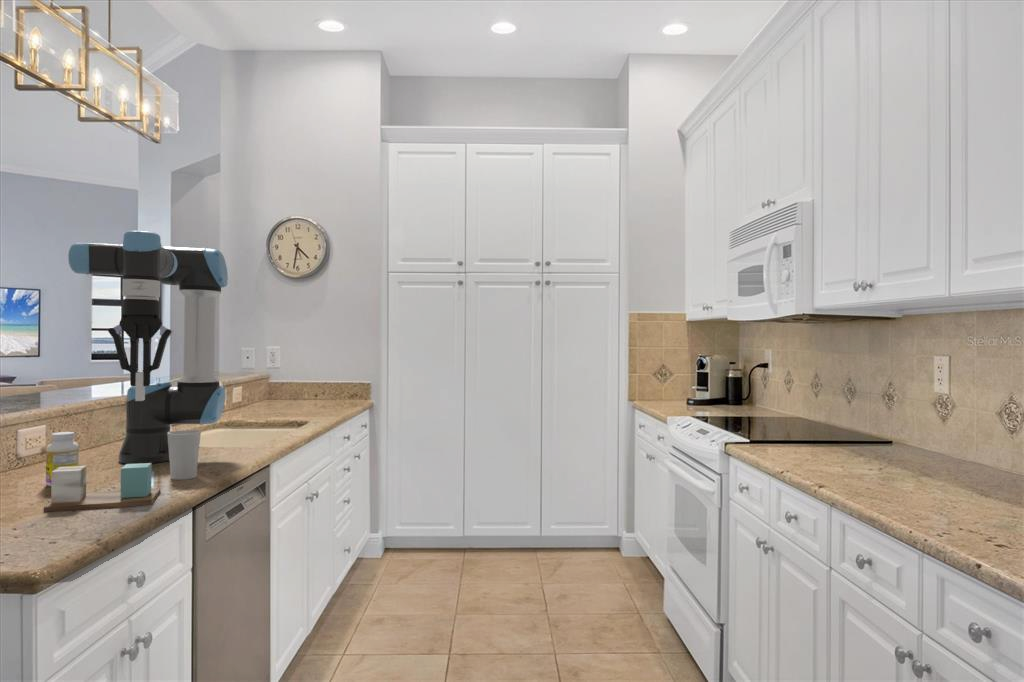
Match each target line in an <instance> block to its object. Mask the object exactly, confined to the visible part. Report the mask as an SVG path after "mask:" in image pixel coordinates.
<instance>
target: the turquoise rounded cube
mask: <svg viewBox="0 0 1024 682" xmlns="http://www.w3.org/2000/svg"><path fill="white" fill-rule="evenodd" d="M152 464H153V463H140V464H127V463H125V464H124V465H123V466H122V467H121V468H120V491H121V497H120V498H129V497H145V496H148V494H149V493H150V492H151V489H152V471H153V470H152V469H153V467H152Z"/></svg>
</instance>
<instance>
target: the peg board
mask: <svg viewBox="0 0 1024 682" xmlns="http://www.w3.org/2000/svg"><path fill="white" fill-rule="evenodd" d="M87 467H88V465H79V466H72V467H59V468H57V469H55V470H54V471H52V487H51V486H50V487H51V488H50V489H51V492H50V493H51V495H50V496H51V500H50V502H49V503H47V504H46V505H45V506H44V507H43V513H49V512H50V513H51V512H63V511H78V510H93V509H109V508H124V507H137V506H138V505H141V506H151V505H153V503H154V502H155V500H156V499H157V497H158V496H159V495H160V493H161V488H160V487H157V488H155V487H154V488H151V492H150V493H149V494H148V496H145V497H129V498H120V497H121V490H109V491H107V490H105V491H92V492H91V491H89V492H87ZM138 507H139V506H138Z"/></svg>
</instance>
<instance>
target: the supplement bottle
mask: <svg viewBox="0 0 1024 682" xmlns="http://www.w3.org/2000/svg"><path fill="white" fill-rule="evenodd" d="M50 438H51V440H52V442H51V443H49V444H48V445H47V446H46V448H45V449H46V460H45V465H46V466H45V468H46V469H45V483H46V485H47V486H48V487H52V471H54V470H55V469H57V468H59V467H72V466H80V465H79V463H80V462H79V459H80V458H79V457H80V455H79V454H80V453H79V452H80V451H79V450H80V446H79V443H77V442H76V441H74V439H75V432H74V431H60V432H59V431H58V432H52V433H51V436H50Z"/></svg>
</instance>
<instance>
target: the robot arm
mask: <svg viewBox="0 0 1024 682" xmlns="http://www.w3.org/2000/svg"><path fill="white" fill-rule="evenodd" d="M67 257H68V259H67V260H68V264H69V268H70V269H71V271H73V272H74V274H75V273H76V274H81V275H97V276H98V275H99V276H121V277H122V293H121V294H122V296H123V297H125V298H124V299H123V300H122V301H121V302H122V305H121V309H122V310H121V312H122V313H121V314H122V315H121V318H120V321H119V323H118V324H117V325H116V326H114V327H110V328H109V329H108V333H109V334H110V337H111V338H112V339H113V342H114V347H115V349H116V354H117V357H118V358H117V359H118V361H119V364H120V368H121V370H124V371H128V372H129V374H130V376H129V378H130V382H129V385H130V387H129V388H128V389H127V392H126V393H127V394H126V401H125V403H126V410H125V411H126V413H125V415H126V416H125V417H126V419H125V420H126V421H125V423H126V424H125V428H126V429H125V438H124V440H123V442H122V444H121V448H120V450H119V452H118V462H119V463H121V464H140V463H152V464H155V463H162V462H168V461H169V447H168V434H167V433H168V432H171V425H199V426H203V425H211V424H215V423H218V421H219V420H220V419H221V417H222V414H223V411H224V407H225V402H226V388H225V387H224V386H223V385H220V379H219V378H218V377H217V376H216V375H215V351H216V348H215V345H216V342H215V341H216V307H217V306H216V305H217V304H216V303H217V302H216V301H217V297H219V296H220V295H221V294H222V288H225V287H227V286H228V279H229V276H228V275H229V274H228V267H227V263H226V260H225V257H224V254H223V252H221V251H220V250H219V249H214V248H206V247H181V246H180V247H178V246H163V245H162V241H161V236H160V234H158V233H156V232H151V231H144V230H129V231H126V232H125V233H124V234H123V240H122V244H114V243H98V242H97V243H94V242H93V243H91V242H75V243H73V244H72V245H71V246H70V247H69V250H68V255H67ZM161 285H166V286H167V285H168V286H169V285H170V286H178V287H179V289H178V292H179V293H180V294H181V295H182V296H184V310H183V311H184V313H183V315H184V316H183V317H184V319H183V363H182V364H183V368H182V371H183V372H182V376H180V378H178V380H177V383H176V384H177V385H175V386H172V385H173V384H172V382H171V381H160V382H151V373H152V371H155V370H159V368H160V365H161V362H162V359H163V355H164V352H165V349H166V345H167V342H168V339H169V337H170V336H171V335H172V334H173V330H172V329H171V328H167V327H166V326H165V325H163V322H162V320H161V302H160V300H158V299H159V298H160V297H161ZM123 331H124V333H125V334H126V335H127V337H129V343H130V347H129V348H130V350H129V351H130V352H129V353H130V354H129V357H130V358H129V360H128V356H127V353H126V347H125V346H124V345H125V344H124V341H123V338H122V333H123ZM157 332H159V335H160V338H159V340H158V344H157V348H156V351H155V354H154V357H153V362H152V338H153V337H154V336H155V335H156V334H157ZM140 339H142V345H143V347H142V348H143V349H142V350H143V351H142V354H143V355H142V371H139V342H140Z"/></svg>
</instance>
